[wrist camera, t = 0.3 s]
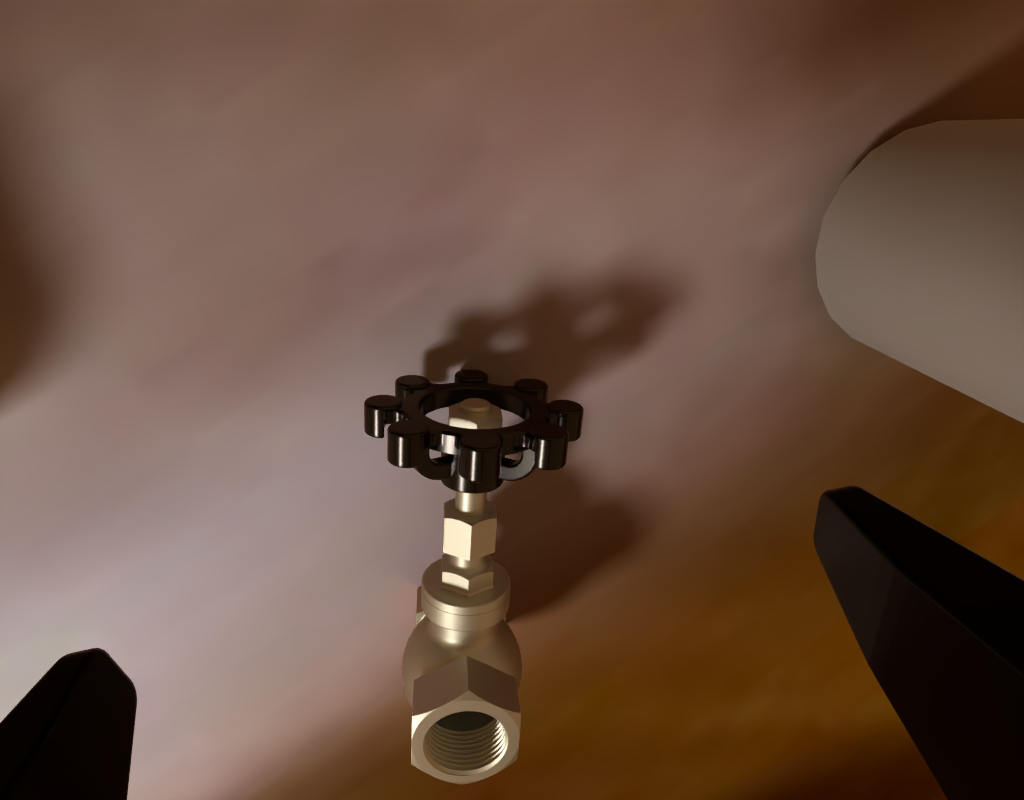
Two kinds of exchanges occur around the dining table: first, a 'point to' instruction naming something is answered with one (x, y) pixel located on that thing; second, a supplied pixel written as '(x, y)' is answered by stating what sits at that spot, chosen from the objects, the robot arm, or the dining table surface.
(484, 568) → the valve
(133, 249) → the dining table surface
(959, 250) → the can
